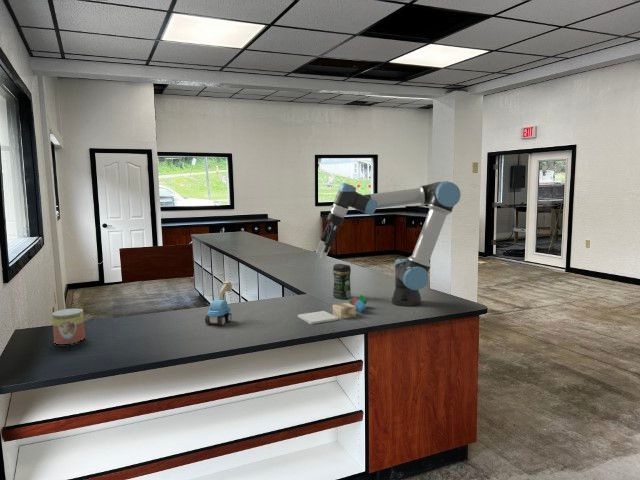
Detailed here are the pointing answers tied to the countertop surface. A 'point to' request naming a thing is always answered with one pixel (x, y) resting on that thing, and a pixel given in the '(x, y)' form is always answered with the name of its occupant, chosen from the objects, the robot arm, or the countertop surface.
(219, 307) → the toy excavator
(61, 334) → the canned food
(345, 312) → the maple brick
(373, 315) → the countertop surface
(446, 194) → the robot arm
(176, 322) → the countertop surface
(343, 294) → the coffee jar
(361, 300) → the building blocks
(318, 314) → the plate
